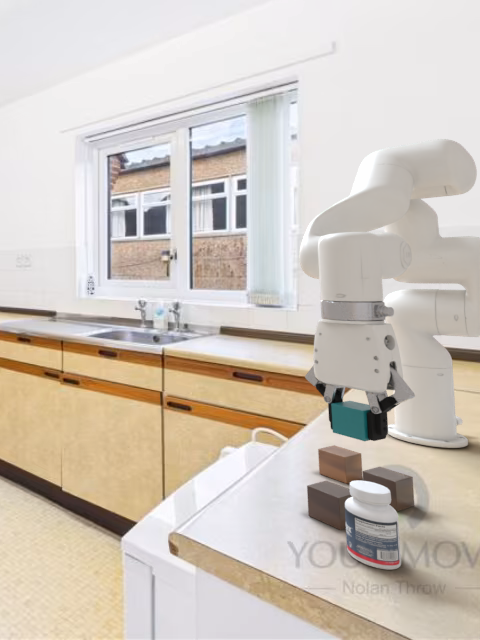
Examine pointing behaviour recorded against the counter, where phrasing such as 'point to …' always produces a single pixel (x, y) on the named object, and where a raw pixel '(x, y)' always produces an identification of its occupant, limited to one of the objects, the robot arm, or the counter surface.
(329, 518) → the brown cube
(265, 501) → the counter surface
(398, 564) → the pill bottle
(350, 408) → the teal toy cube
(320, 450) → the caramel wooden cube
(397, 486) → the taupe block
